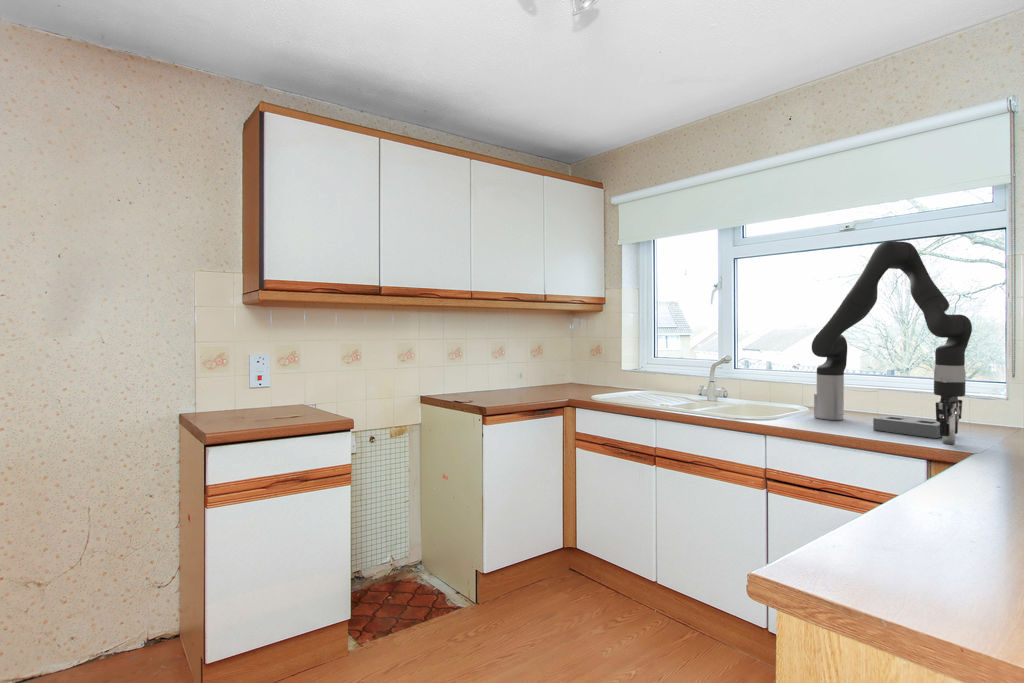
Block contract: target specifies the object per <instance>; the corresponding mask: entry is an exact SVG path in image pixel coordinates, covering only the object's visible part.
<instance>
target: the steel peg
mask: <svg viewBox="0 0 1024 683" xmlns="http://www.w3.org/2000/svg"><path fill="white" fill-rule="evenodd" d="M943 418H944V417H943ZM941 438H942V440H941V441H942V444H946V445H955V444H956V434H955V414H953V417H951V419H950V435H949V436H948V437H946V436H942V437H941Z"/></svg>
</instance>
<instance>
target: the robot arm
mask: <svg viewBox="0 0 1024 683" xmlns="http://www.w3.org/2000/svg"><path fill="white" fill-rule="evenodd" d="M889 269H892V270H900V271H901V272H903V273H904V274H905V275H906V276H907V278H908V280H909V283H910V285H909V286H910V294H911V297H912V299H913V301H914V302H915V303H916V305H917V306H918V308H919V309H920V310H921V311H922V314H923V317H924V320H925V324H926V326H927V329H928V331H929V332H930V333H931V334H932V335H933V336H935V337H937V338H940V339H941V338H943V339H944V338H946V342H945V344H942V345H939V346H937V347H936V349H935V351H934V352H935V353H934V359H935V360H934V363H935V365H934V372H933V394H934V395H935V396H940V401H938V402H937V401H936V402H935V415H936V416H935V421H937V422H939V423H940V435H941V436H946V437H948V436H949V435H950V419H951V417H953V414H955V435H957V434H958V433H959V432H958V431H959V426H958V424H959V422H960V420H961V419H962V411H963V399H959V398H961V397H965V396H966V377H967V376H966V375H967V374H966V366H965V364H966V362H965V361H966V360H965V358H966V356H965V355H966V350H967V347H968V344H969V341H970V339H971V335H972V331H973V325H972V322H971V320H970V318H969V317H968V316H966V315H964V314H947V313H946V311H947V310H948V309H949V308H950V302H949V301H948V299H947V297H945V296H944V294H943V293H942V292H941V289H939V288H938V286H937V285H936V283H935V282H934V281H933V279H932V277H931V276H930V274H929V272H928V270H927V268H926V266H925V265H924V263H923V260H922V258H921V255H920V253H919V252H918V250H917V248H916V247H915V246H914V245H913V244H912V243H910V242H906V241H900V240H899V241H897V240H885V241H883V242H881V243H879V245H878V246H877V247H876V248H875V250H874V251H872V254H871V256H870V258H869V260H868V262H867V263H866V266H865V267H864V269H863V270H862V272H861V274H860V275H859V277H858V279H857V280H856V281H855V283H854V285H853V286H852V287H851V290H849V292H848V293H847V294H846V296H845V298H844V299H843V300H842V302H841V303H840V305H839V306H838V307H837V309H836V311H834V313H833V315H832V316H831V317H830V318H829V320H828V321H827V323H826V324H825V325H824V326H823V327H822V329H820V331H819V332H818V333H817V334H816V335H815V337H814V338H813V340H812V342H811V351H812V354H813V355H815V356H816V357H820V358H826V360H825V362H823V364H820V365H818V367H817V368H816V392H815V393H814V394H813V417H814V418H817V419H821V420H831V421H840V420H841V421H842V420H844V414H845V413H844V405H845V404H844V400H845V399H844V398H845V396H844V394H845V380H844V379H845V378H844V377H845V371H846V367H847V360H848V343H847V339H846V337H845V336H844V335H843V334H844V332H846V331H848V329H850V328H851V327H853V326H855V325H856V324H857V323H860V322H861V321H862V320H863V319H864V318H866V317H867V315H868V314H869V313H870V311H871V310H872V309H873V308H874V306H875V305H876V303H877V300H878V293H879V292H878V286H879V282H880V281H881V279H882V277H883V276H884V274H885V273H886V272H887V271H888V270H889ZM943 417H944V418H943Z"/></svg>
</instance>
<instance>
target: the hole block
mask: <svg viewBox="0 0 1024 683" xmlns="http://www.w3.org/2000/svg"><path fill="white" fill-rule="evenodd" d="M872 420H873V422H872V423H873V425H872V426H873V430H874V431H879V432H886V433H894V434H902V435H909V436H917V437H924V438H930V439H937V438H938V439H939V438H942V436H941V435H940V423H939V422H937V421H936V420H934V419H933V420H931V419H922V418H915V417H907V416H906V417H904V416H897V415H888V414H887V415H883V416H877V417H874V418H873V419H872Z"/></svg>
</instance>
